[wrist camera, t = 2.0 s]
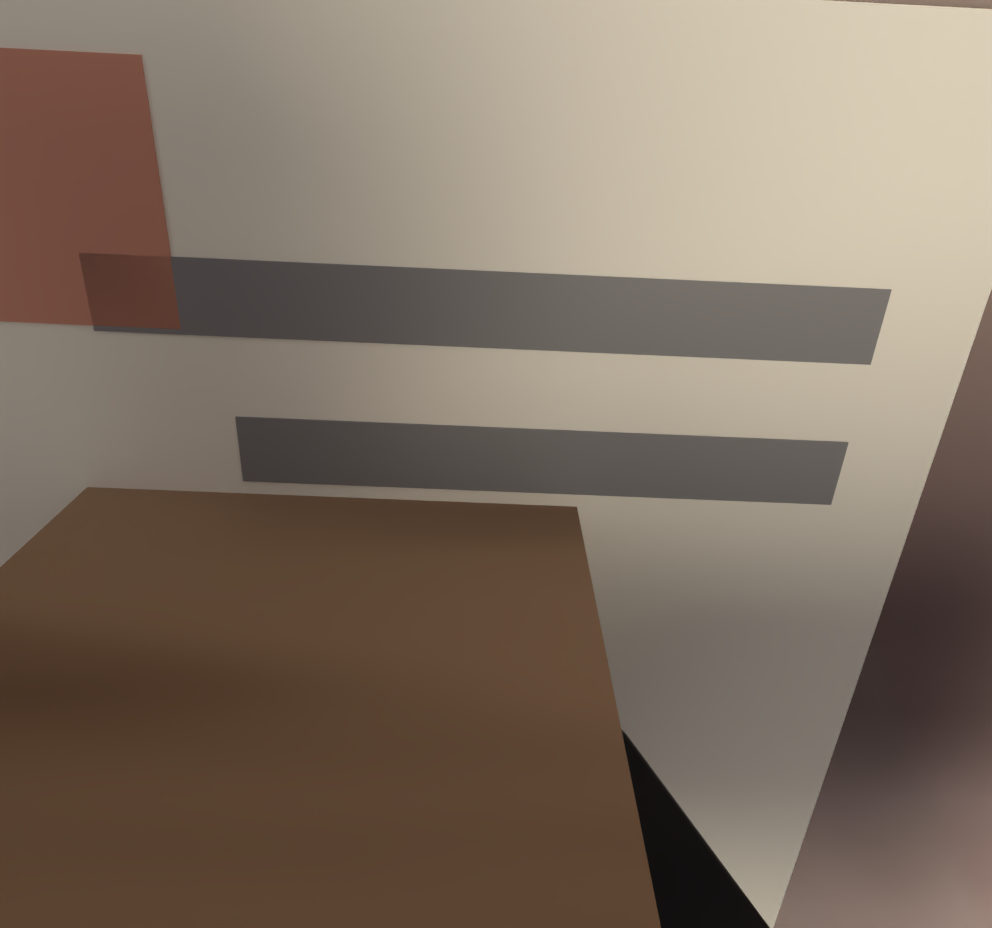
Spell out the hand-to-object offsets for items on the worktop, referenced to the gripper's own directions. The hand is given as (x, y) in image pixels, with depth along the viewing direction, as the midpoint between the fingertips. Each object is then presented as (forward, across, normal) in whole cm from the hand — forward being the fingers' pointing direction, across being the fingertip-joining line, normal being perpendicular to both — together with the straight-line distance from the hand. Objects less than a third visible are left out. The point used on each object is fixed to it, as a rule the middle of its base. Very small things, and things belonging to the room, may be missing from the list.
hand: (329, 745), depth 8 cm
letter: (+1, -1, 0) cm, 2 cm away
